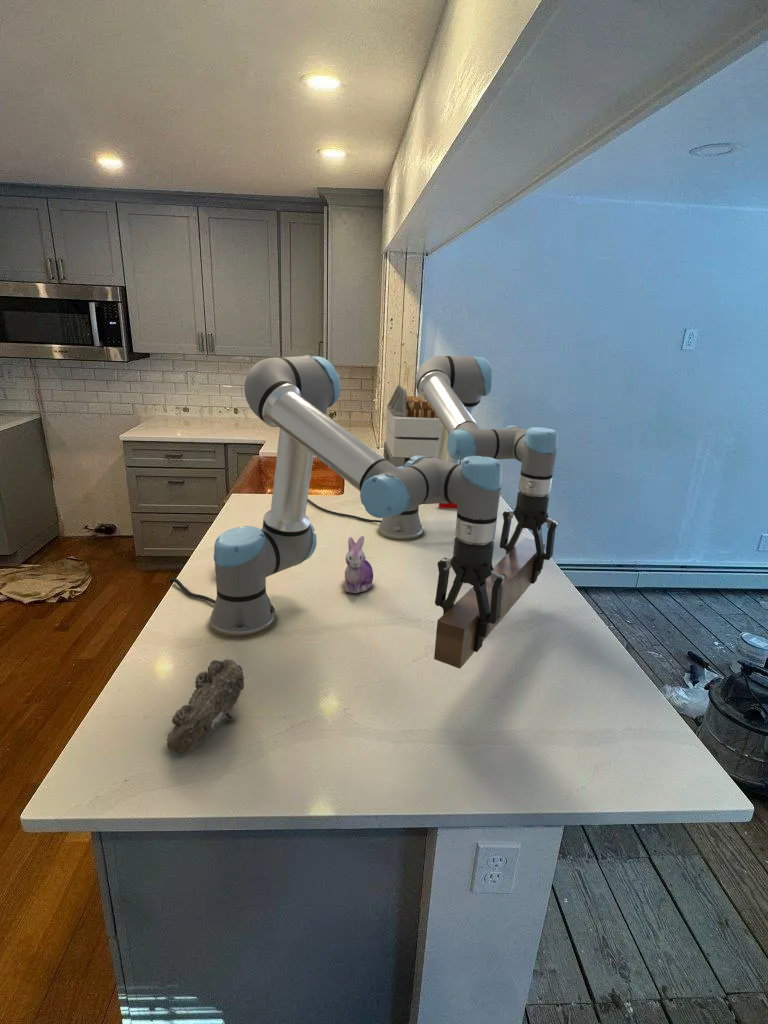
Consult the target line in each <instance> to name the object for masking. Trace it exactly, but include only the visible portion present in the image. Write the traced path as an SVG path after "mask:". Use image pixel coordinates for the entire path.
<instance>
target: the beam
mask: <svg viewBox="0 0 768 1024" xmlns="http://www.w3.org/2000/svg"><path fill="white" fill-rule="evenodd" d="M543 545H544V550H546V542H545V541H543ZM536 557H537V552H536V545H535V539H533V538H528V537H523V539H521V541H520V540H519V542H518V543H516V544H515V546H514V548H513V549H512V550H511V551H510V552H509V553H508V554H507V555H506V554H505V555H504V557H503V558H501V559H500V560H499V561H498V562H497V563H496V564H495V565H494V566H493V570H494V571H495V572H497V573H499V574H500V575H501V574H505V575H506V579H505V581H504V583H503V586H502V599H501V611H500V618H499V619H498V620H497V622H496V623H495V624H492V623H489V632H488V634H487V635H486V636H485V638H484V637H483V642H484V641H485V640H486V639H487V638H488V636H489V635H490V634H491V633H492V632H493V631H494V629H495V628H496V627H497V626H498V625H499V624H500V622H501V621H502V620H503V619H504V617H506V615H507V614H508V612H509V611H510V610H511V609H512V608H513V606H514V605H515V604H516V603H517V602H518V600H519V599H520V598H521V597H522V596H523V594H524V593H525V592H526V591H527V590H528V589H529V587H530V586H531V585H533V584H532V583H531V578H532V571H533V565H534V559H535V558H536ZM541 573H542V570H541V571H540V572H538V576H537V578H538V577H539V575H540V574H541ZM491 580H492V578H491V577H490V576H489V577H488V578H487V579H486V591H487V596H488V602H489V608H490V610H491V596H492V587H493V584H492V582H491ZM479 620H480V614H479V609H478V603H477V598H476V592H475V591H474V588H473V586H471V588H470V589H468V591H467V592H466V593H464V594H463V595H462V596H461V598H459V599H458V600H457V601H455V602H454V605H453V606H452V607H451V608H450V609H449V610H448V611H447V612H446V613H445V614H444V615H443V614H442V616H440V617H439V618H438V619H437V621H436V634H435V643H434V645H435V646H434V653H433V654H434V655H433V660H436V661H438V662H441V663H443V664H446V665H449V666H451V667H454V668H457V669H459V670H460V669H462V668H463V666H464V665H465V664H466V663H467V661H469V659H470V658H471V656H473V655H474V653H476V652H475V651H474V642H475V633H476V625H477V622H478V621H479Z"/></svg>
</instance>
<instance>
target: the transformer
mask: <svg viewBox="0 0 768 1024" xmlns="http://www.w3.org/2000/svg"><path fill="white" fill-rule="evenodd" d="M407 394H408V393H407V390H406V389H404V388H403V387H402V385H399V384H398V385H397V386H396V388H395V390H394V392H393V394H392V395H391V398H390V400H389V402H388V404H387V405H386V413H385V414H386V415H385V423H386V428H385V438H384V442H383V458H384V459H386V460H387V461H388V462H390V463H391V464H393V465H394V466H395V467H401V466H404V465H405V463H406V462H408V461H409V459H410V458H411V457H413V456H425V457H426V456H430V457H433V458H435V453H436V449H437V444H438V440H439V435H440V431H441V427H442V423H441V422H440V420H439V418H438V417H437V415H436V414H435V412H434V410H433V409H432V407H431V406H430V404H429V402H427V401H425V400H423V399H422V398H421V396H415V395H414V396H413V395H412V396H411V395H407ZM459 464H460V465H461V464H462V460H460V462H459Z"/></svg>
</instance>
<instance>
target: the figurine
mask: <svg viewBox="0 0 768 1024" xmlns="http://www.w3.org/2000/svg"><path fill="white" fill-rule="evenodd" d="M364 542H365V536H364V535H361V536H360V537H359V538H358V539H357V541H356V542H355V540H354V538H353V537H352V536H349V537H348V539H347V544H348V545H347V548H348V550H347V552H346V555H345V560H344V561H345V563H346V565H347V566H346V567H345V570H344V579H345V580H344V583H343V585H344V588H345V592H347V593H351V594H359V593H361V592H366V591H368V590H369V589H370V588H372V585H373V580H374V571H373V567H372V564H371V563H370V562H369V561H368V560H367V559H366V555H365V553H364V551H363V546H364Z"/></svg>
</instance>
